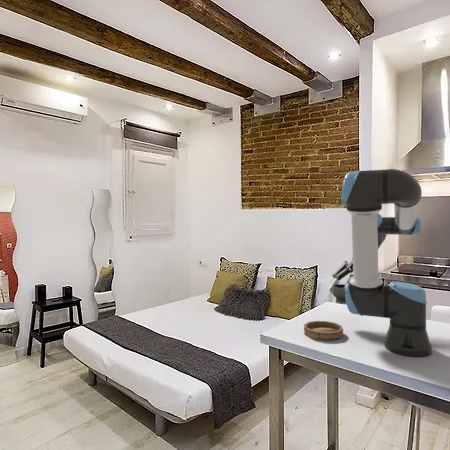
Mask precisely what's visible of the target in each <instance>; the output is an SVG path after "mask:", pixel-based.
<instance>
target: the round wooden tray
mask: <svg viewBox="0 0 450 450" xmlns="http://www.w3.org/2000/svg"><path fill="white" fill-rule="evenodd" d="M303 330H304V331H303V332H304V335H305V336H306V337H308V338H309V339H313V340H316V341H323V342H325V341H327V342H328V341H329V342H330V341H337V340H340V339H342V337H343V334H344V328H343V326H342V325H341V324H339V323H336V322H332V321H327V320H314V321H313V320H312V321H308V322H306V323H304V324H303Z"/></svg>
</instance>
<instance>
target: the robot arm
mask: <svg viewBox="0 0 450 450" xmlns="http://www.w3.org/2000/svg"><path fill="white" fill-rule="evenodd" d="M422 193H423V192H422V187H421V185H420V183H419V182H418V180H417V179H416V178H415V177H414V176H412V175H411V174H410V173H408V172H406V171H404V170H401V169H397V168H396V169H395V168H387V169H374V170H371V169H370V170H356V171H349V172H347V173H346V175H345V176H344V178H343V183H342V190H341V205H343V206H346V211H347V212H348V213H349V214H350V215H351V239H352V240H351V241H352V259H351V261H347V260H344V261H343V263H342V265H340V266H339V268H338V269H337V270H336V271H335V272H334V273H332V274H331V276H332V278H333V279H332V281H331V283H330V285H329V287H328V288H327V290H328V291H329V292H330V294H333V293H332V290H331V286H332V285H337V284H340V281H341V280H342V279H343V278H345V277H346V276H348V275H350V274H353V277H351V278H350V280H349V283H347V282H346V283H347V284H346V283H345V284H346V286H345V297H346V304H345V305H346V307H347V310H348V311H349V312H350V314H353V315H359V316H365V317H373V318H374V317H375V318H383V319H384V318H385V319H389V326H388V328H387V332H386V336H385V337H384V343H383V344H384V347H385V348H386V349H387V350H388V351H390V352H392V353H393V354H394V353H395V354H397V355H402V356H406V357H413V358H419V357H422V358H423V357H428V356H430V355H431V354H432V351H433V346H432V343H431V341H430V338H429V337H430V336H429V334H428V331H427V303H428V301H427V293H426V290H425V289H424V288H423V287H421V286H419V285H417V284H413V283H408V282H403V281H391V282H389V285H385V284H384V281H383V279H382V278H381V277H380V276H379V248H380V247H381V246H382V244H383V242H384V241H386V237H387V236H388V235H392V236H393V235H398V236H399V235H403V236H406V235H407V236H414V235H415V236H416V235H417V236H418V235H420V234H421V229H422V228H421V223H422V222H421V218H420V217H418V216H417V212H418V211H417V210H418V204H419V203H420V202H421V199H422ZM388 204H390V205H391V204H392V205H393V207H394V209H393V210H394V216H382V215H381V214H380V213H379V212H380V211H382V210H383V205H388Z"/></svg>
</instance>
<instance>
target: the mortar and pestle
mask: <svg viewBox="0 0 450 450" xmlns="http://www.w3.org/2000/svg"><path fill="white" fill-rule="evenodd" d="M351 277H353V273H349V278H348V279H347V280H346V282H345V284H342V283H341V284H340V283H339V284H337V285H332V286H331V285H330V286H331V290H332V293H331V294H332V295H333V296H334V298H336V299H335V303H336V304H340V305H341V304H342V305H347V304H346V297H345V286H346V284H347V283H349V280H350V278H351Z"/></svg>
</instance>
